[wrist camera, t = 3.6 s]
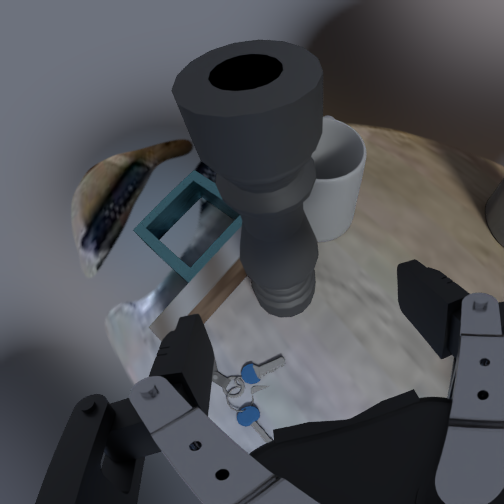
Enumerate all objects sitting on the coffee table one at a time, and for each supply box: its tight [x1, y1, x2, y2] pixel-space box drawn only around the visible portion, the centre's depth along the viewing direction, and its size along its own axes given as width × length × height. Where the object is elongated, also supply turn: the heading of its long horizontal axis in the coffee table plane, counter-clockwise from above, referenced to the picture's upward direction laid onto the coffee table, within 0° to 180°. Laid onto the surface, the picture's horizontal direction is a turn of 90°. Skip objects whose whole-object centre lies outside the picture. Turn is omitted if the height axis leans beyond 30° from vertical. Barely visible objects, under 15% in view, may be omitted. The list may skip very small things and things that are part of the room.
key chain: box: [212, 357, 285, 443], centre depth 29 cm, size 14×8×1 cm, turn 51°
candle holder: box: [172, 40, 323, 317], centre depth 21 cm, size 6×6×25 cm
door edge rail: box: [149, 226, 247, 341], centre depth 31 cm, size 17×2×5 cm, turn 139°
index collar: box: [133, 170, 242, 283], centre depth 35 cm, size 10×10×4 cm
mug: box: [303, 116, 366, 242], centre depth 31 cm, size 12×8×11 cm
